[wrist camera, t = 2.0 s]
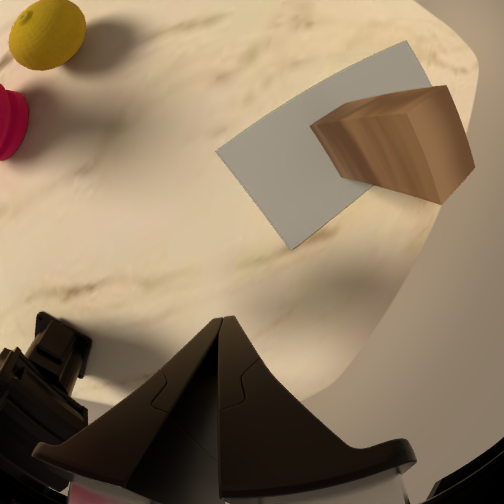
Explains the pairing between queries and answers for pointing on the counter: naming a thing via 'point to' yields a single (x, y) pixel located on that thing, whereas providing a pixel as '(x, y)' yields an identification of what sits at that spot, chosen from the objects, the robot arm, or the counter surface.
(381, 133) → the walnut block
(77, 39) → the lemon
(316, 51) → the counter surface
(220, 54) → the counter surface
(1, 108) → the pepper mill
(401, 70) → the strip
